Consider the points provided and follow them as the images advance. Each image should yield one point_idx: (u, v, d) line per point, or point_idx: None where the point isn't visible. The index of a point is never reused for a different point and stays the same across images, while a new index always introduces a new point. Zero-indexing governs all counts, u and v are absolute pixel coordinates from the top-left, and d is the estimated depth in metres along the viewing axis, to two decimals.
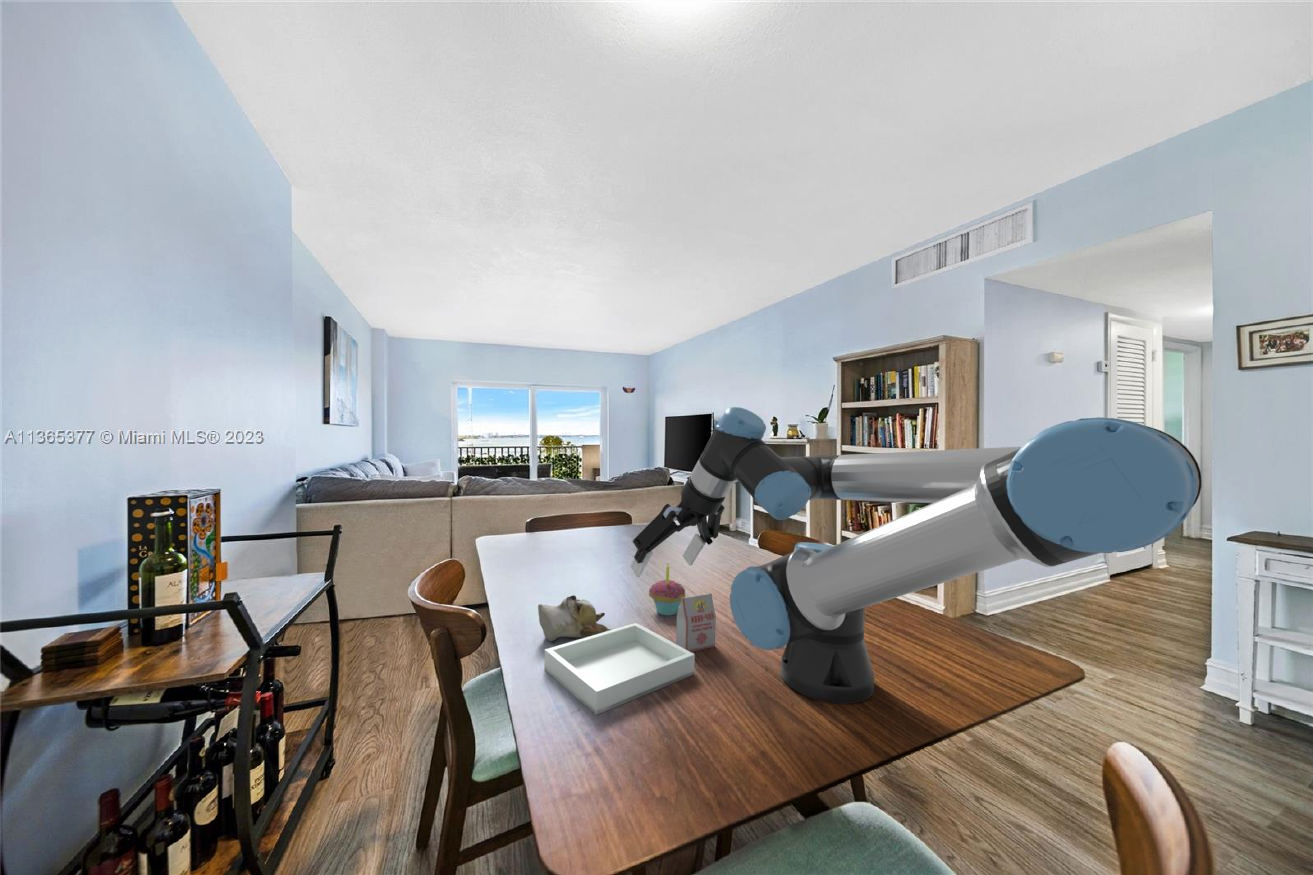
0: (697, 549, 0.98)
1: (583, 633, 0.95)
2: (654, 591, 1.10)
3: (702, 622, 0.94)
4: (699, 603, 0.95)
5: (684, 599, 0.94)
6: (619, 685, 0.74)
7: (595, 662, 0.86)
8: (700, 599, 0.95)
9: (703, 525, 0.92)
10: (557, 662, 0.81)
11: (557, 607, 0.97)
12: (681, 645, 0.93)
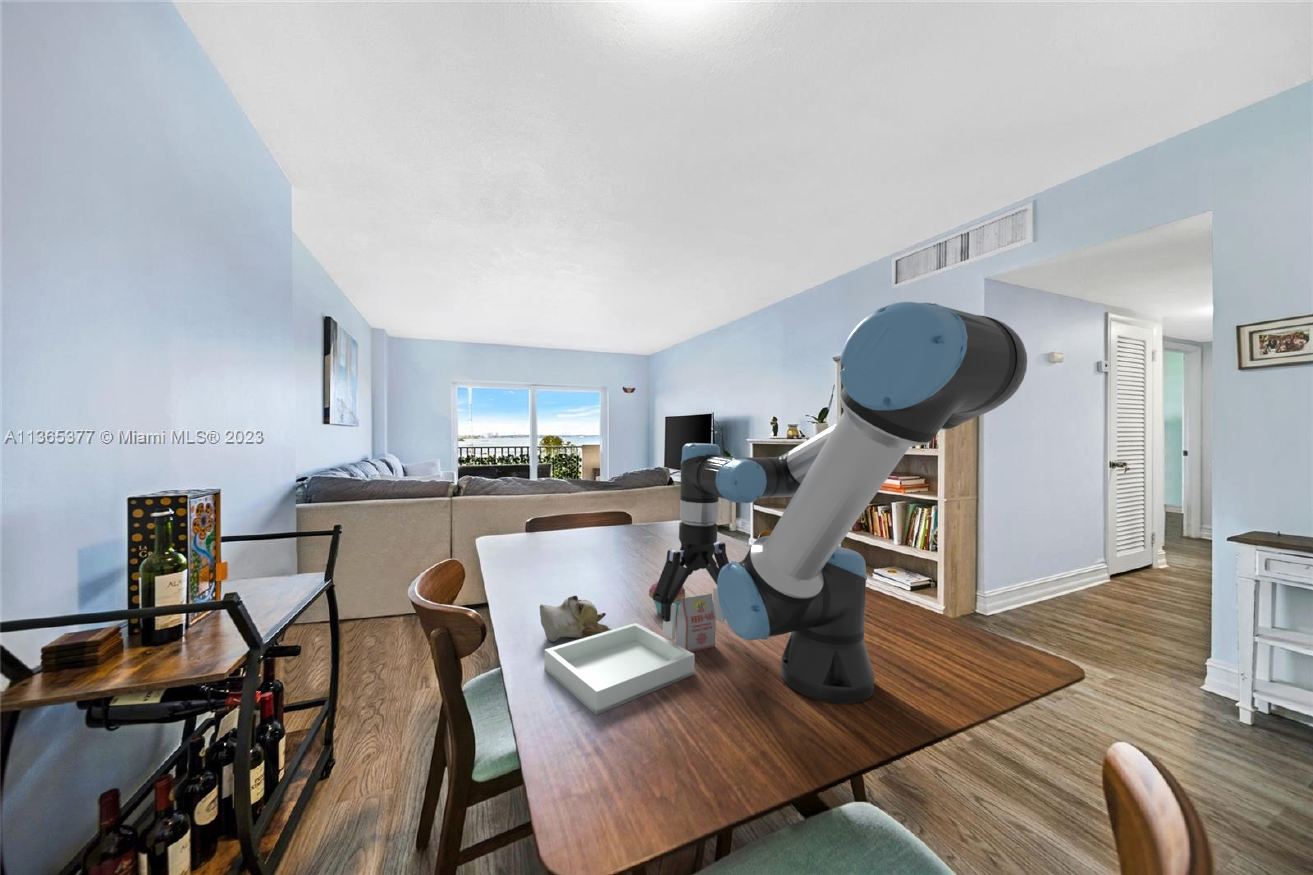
0: None
1: (585, 634, 0.95)
2: (654, 591, 1.10)
3: (702, 622, 0.94)
4: (699, 603, 0.95)
5: (684, 599, 0.94)
6: (619, 685, 0.74)
7: (595, 662, 0.86)
8: (700, 599, 0.95)
9: (712, 565, 0.96)
10: (557, 662, 0.81)
11: (559, 607, 0.97)
12: (681, 645, 0.93)
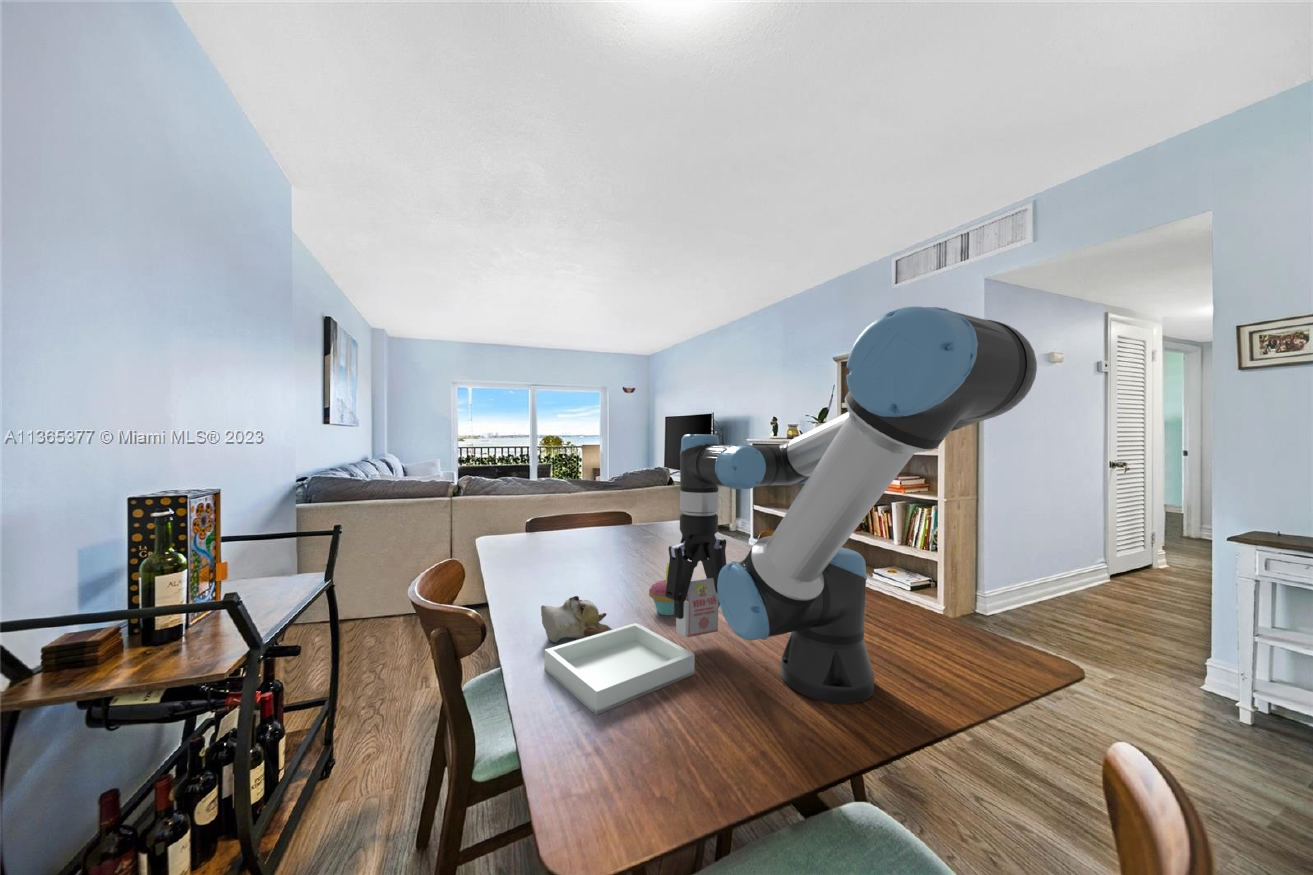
0: None
1: (587, 634, 0.95)
2: (654, 591, 1.10)
3: (704, 606, 0.93)
4: (701, 587, 0.94)
5: None
6: (619, 685, 0.74)
7: (595, 662, 0.86)
8: (702, 583, 0.95)
9: (711, 559, 0.95)
10: (557, 662, 0.81)
11: (560, 608, 0.96)
12: None
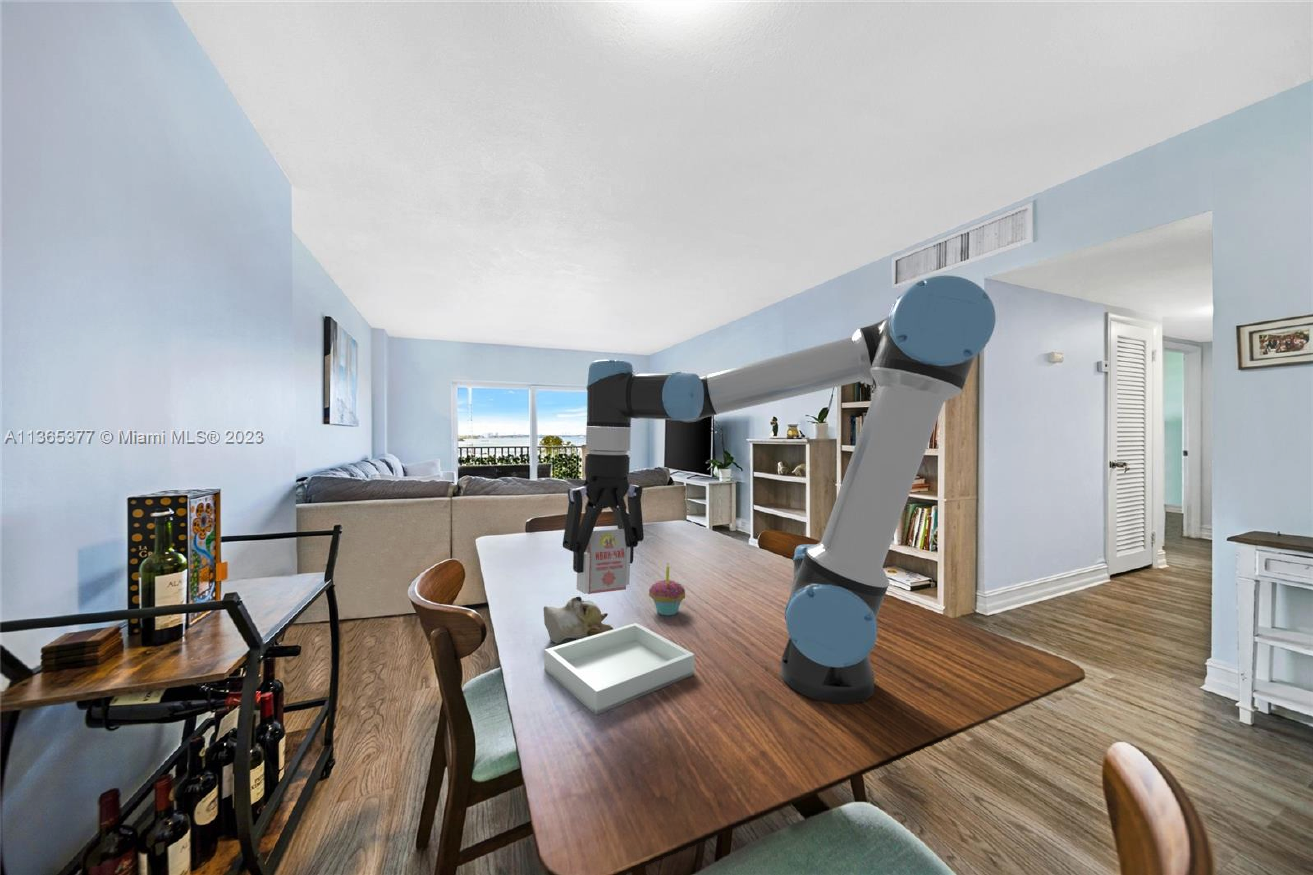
0: None
1: (590, 634, 0.95)
2: (654, 591, 1.10)
3: (609, 560, 0.81)
4: (607, 538, 0.82)
5: None
6: (619, 685, 0.74)
7: (595, 662, 0.86)
8: (609, 534, 0.82)
9: (621, 506, 0.82)
10: (557, 662, 0.81)
11: (563, 609, 0.96)
12: None
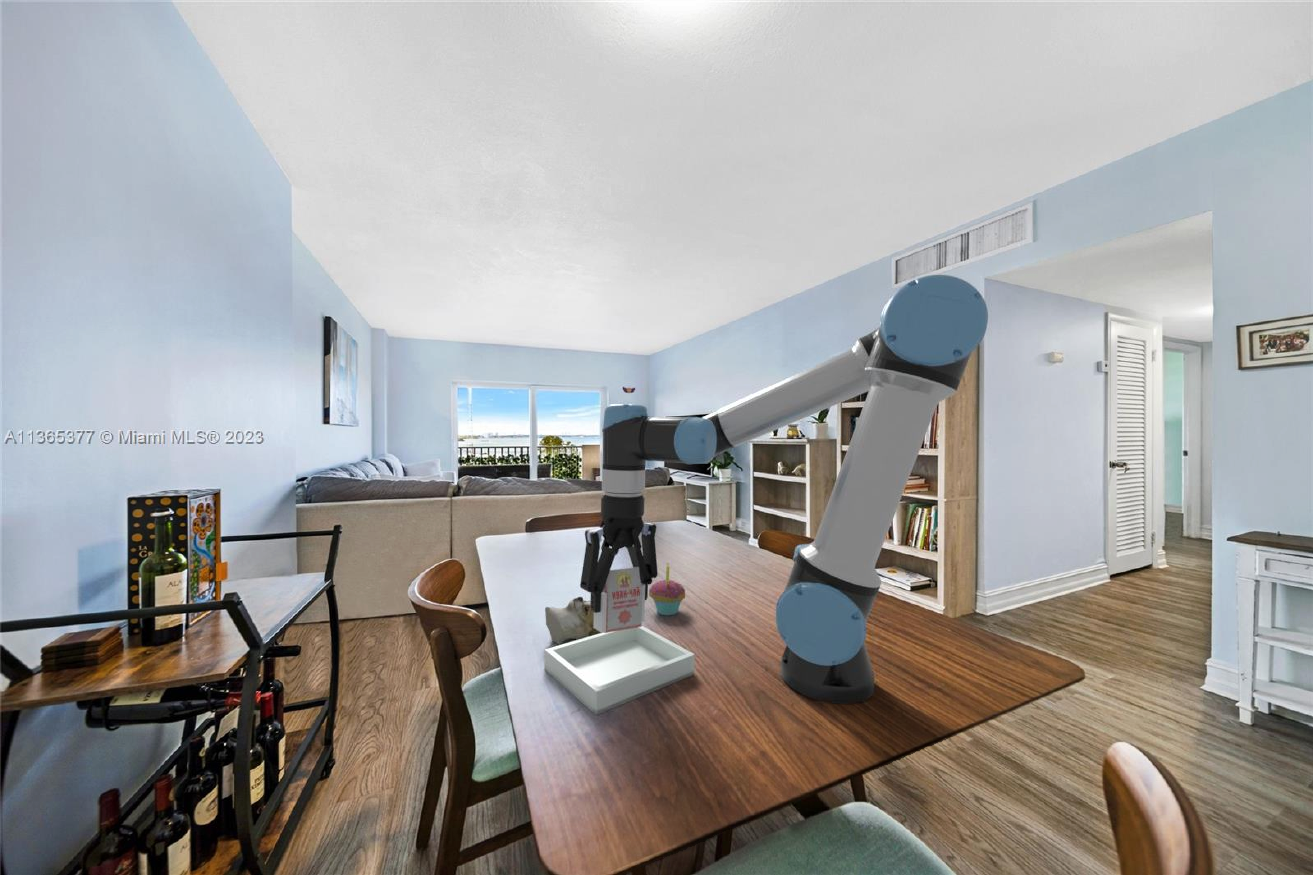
0: None
1: (592, 635, 0.95)
2: (654, 591, 1.10)
3: (625, 598, 0.83)
4: (623, 577, 0.84)
5: None
6: (619, 685, 0.74)
7: (595, 662, 0.86)
8: (625, 573, 0.84)
9: (636, 546, 0.84)
10: (557, 662, 0.81)
11: (564, 609, 0.96)
12: None
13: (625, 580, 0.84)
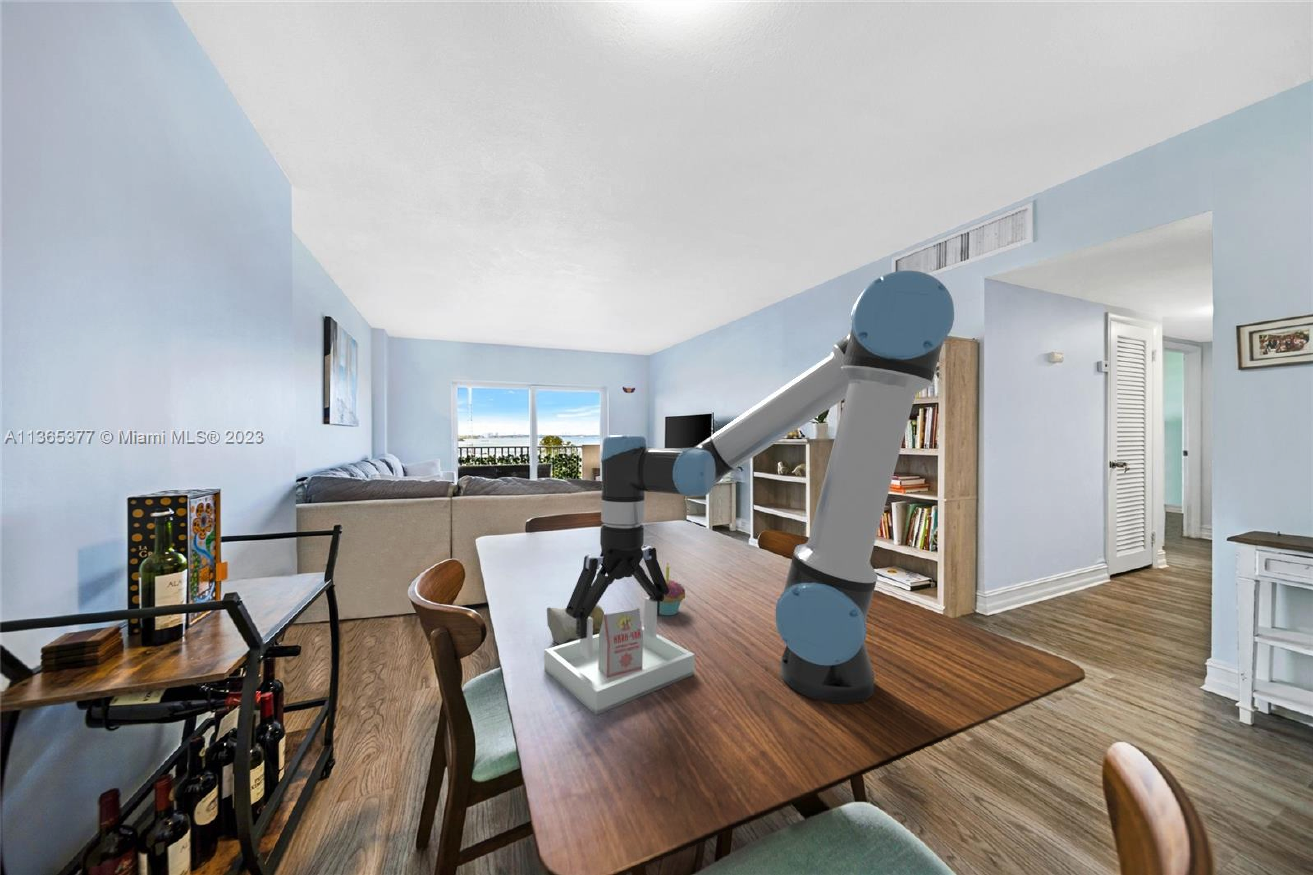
0: (652, 613, 0.87)
1: None
2: None
3: (626, 642, 0.83)
4: (624, 620, 0.84)
5: (606, 616, 0.82)
6: (619, 685, 0.74)
7: (595, 662, 0.86)
8: (625, 615, 0.84)
9: (639, 573, 0.84)
10: (557, 662, 0.81)
11: None
12: (603, 668, 0.82)
13: (626, 623, 0.84)
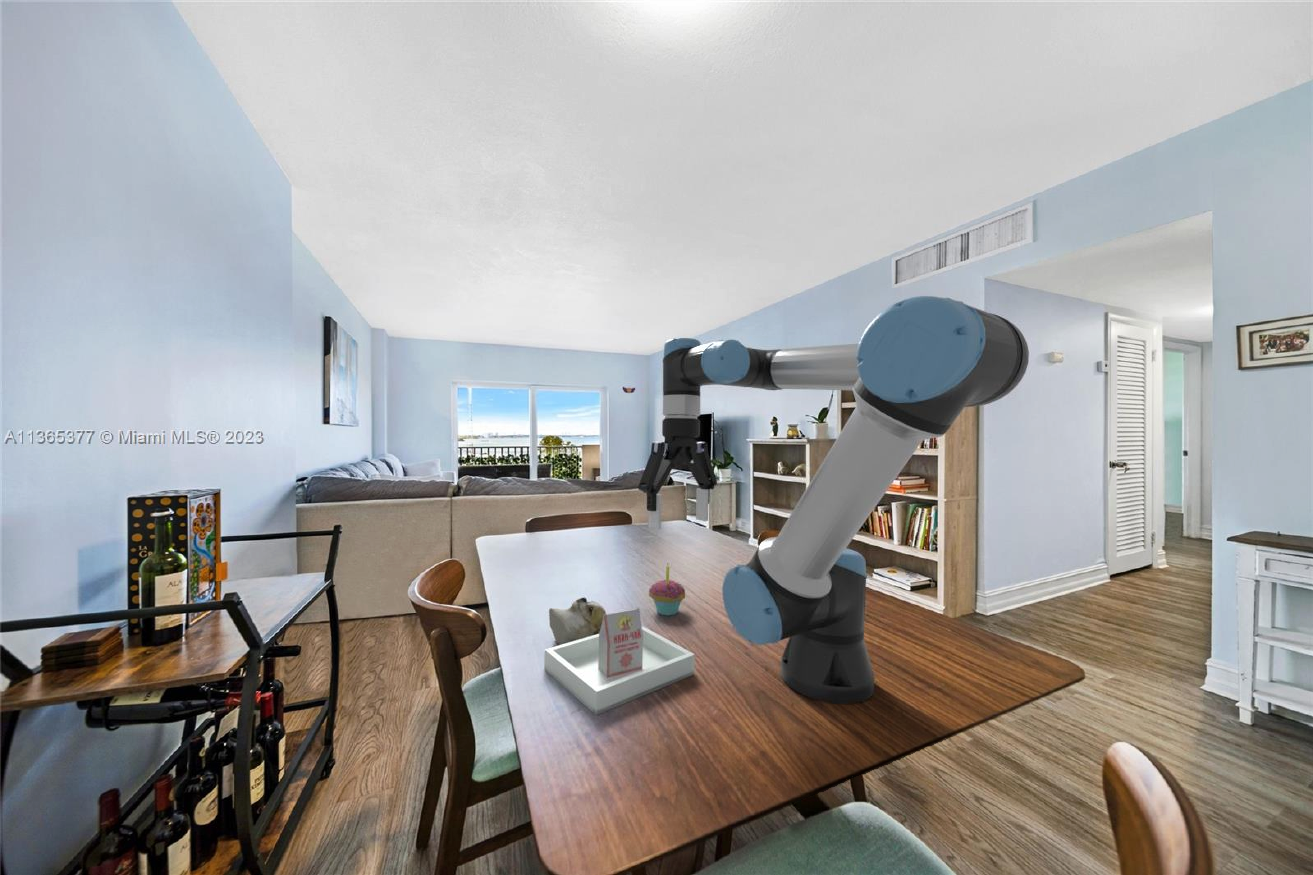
0: (704, 499, 1.00)
1: None
2: (654, 591, 1.10)
3: (626, 642, 0.83)
4: (624, 620, 0.84)
5: (606, 616, 0.82)
6: (619, 685, 0.74)
7: (595, 662, 0.86)
8: (625, 615, 0.84)
9: (696, 461, 0.97)
10: (557, 662, 0.81)
11: (568, 610, 0.95)
12: (603, 668, 0.82)
13: (626, 623, 0.84)
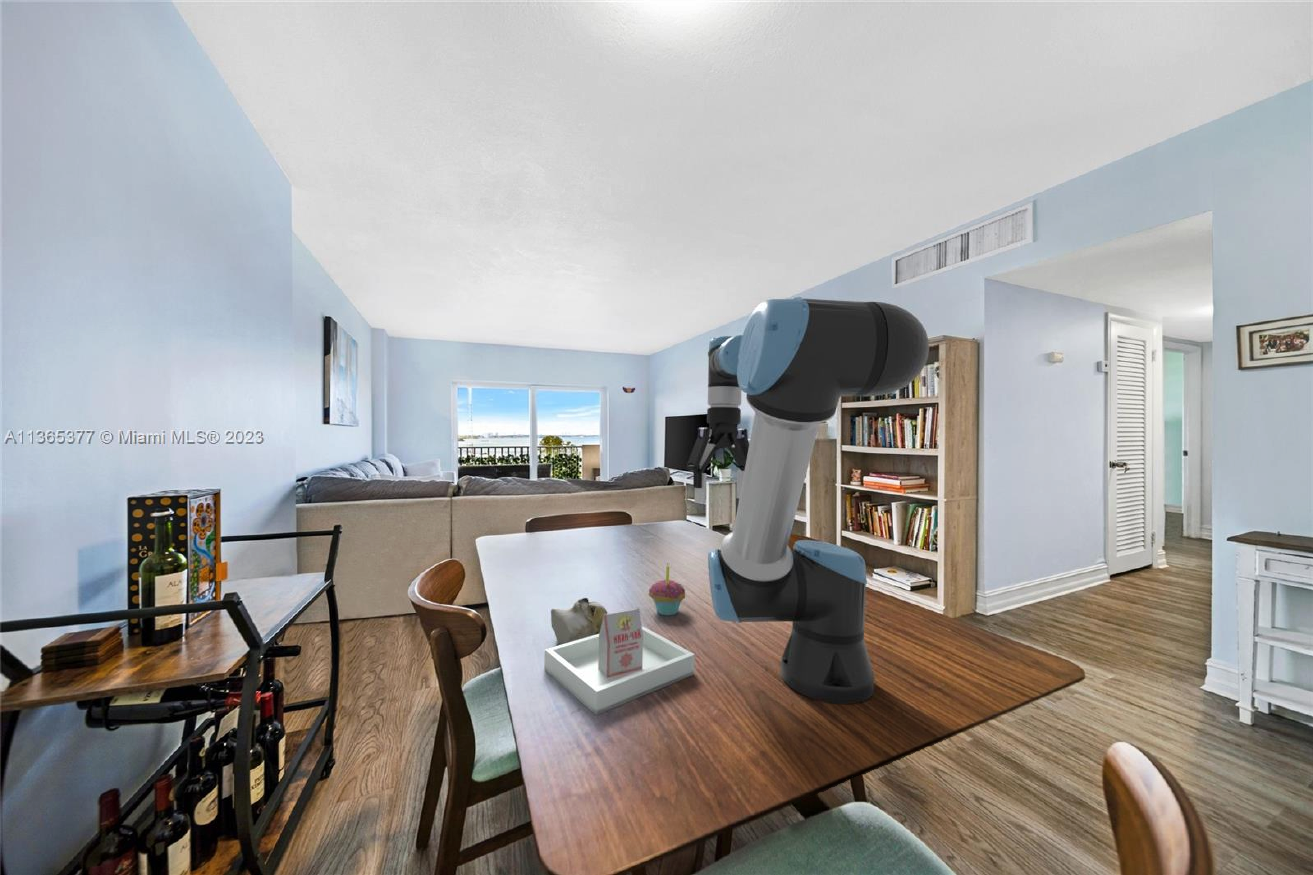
0: None
1: None
2: (654, 591, 1.10)
3: (626, 642, 0.83)
4: (624, 620, 0.84)
5: (606, 616, 0.82)
6: (619, 685, 0.74)
7: (595, 662, 0.86)
8: (625, 615, 0.84)
9: (736, 445, 1.09)
10: (557, 662, 0.81)
11: (570, 611, 0.95)
12: (603, 668, 0.82)
13: (626, 623, 0.84)
